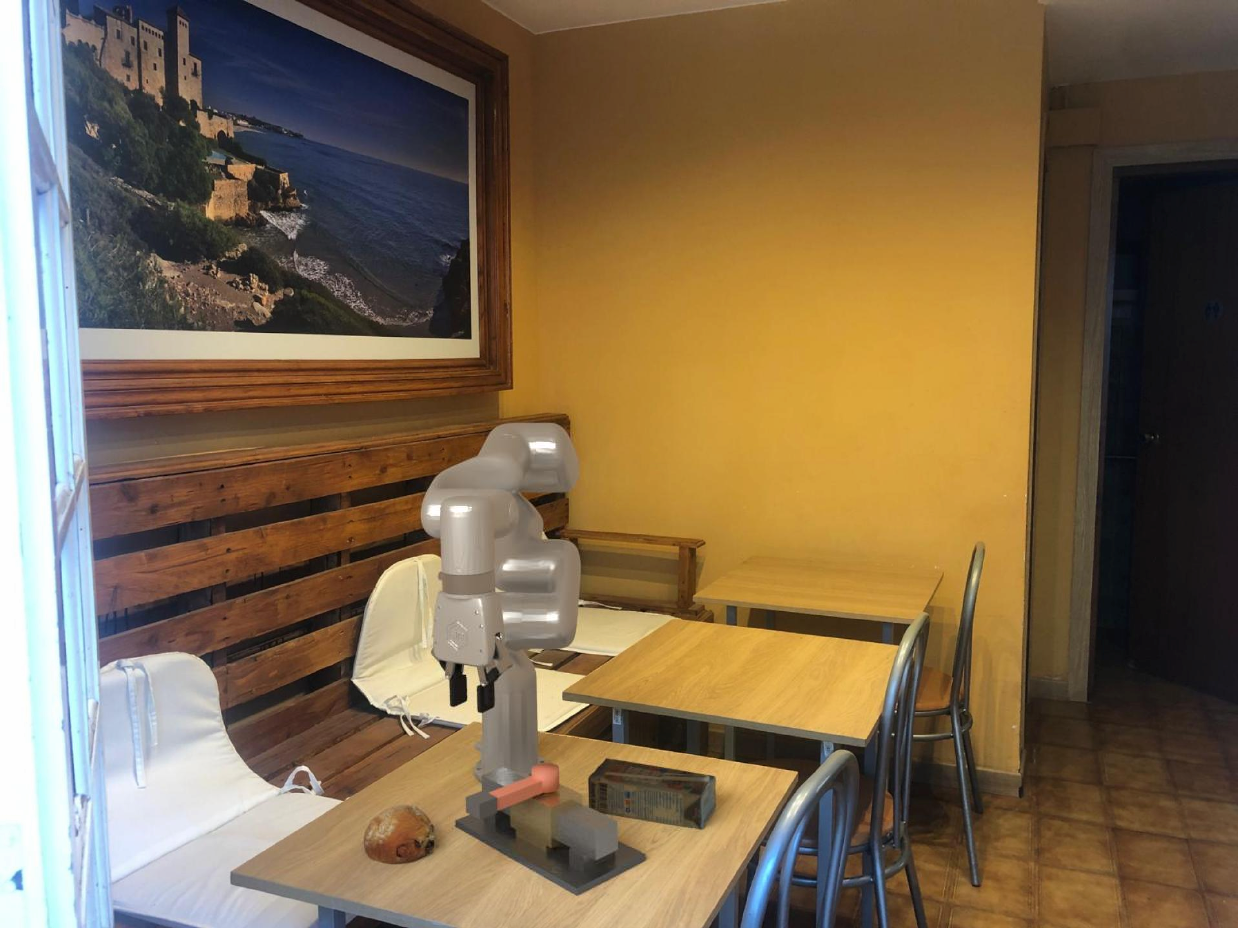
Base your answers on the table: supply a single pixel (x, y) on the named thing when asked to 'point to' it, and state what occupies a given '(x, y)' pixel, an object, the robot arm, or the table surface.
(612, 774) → the beverage carton
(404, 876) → the table surface
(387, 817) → the bread roll
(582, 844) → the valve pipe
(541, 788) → the lever
